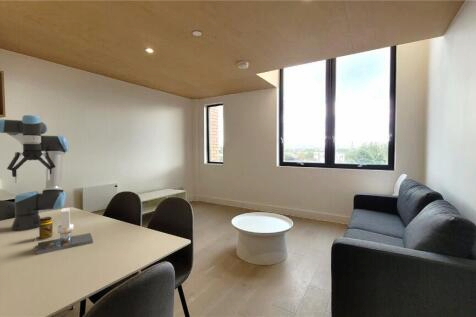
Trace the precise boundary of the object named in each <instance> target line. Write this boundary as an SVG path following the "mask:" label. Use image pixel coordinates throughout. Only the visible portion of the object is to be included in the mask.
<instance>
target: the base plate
mask: <svg viewBox="0 0 476 317" xmlns="http://www.w3.org/2000/svg"><path fill="white" fill-rule="evenodd" d="M59 235H60V236H59V237H60V238H57V239H49V240H45V241H44V240H43V241H40V242H39V241H38V243H37V248H36V251H35V252H36V253H35V254H36V255H40V254H45V253H50V252H55V251H60V250H64V249H65V250H66V249H69V248H74V247H79V246H84V245H89V244H93V243H94V239H93V236H92V234H91V232H90V233H89V232H88V233H84V234H77V235H72V231H71V232H68V233H59Z"/></svg>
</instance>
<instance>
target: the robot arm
mask: <svg viewBox="0 0 476 317" xmlns="http://www.w3.org/2000/svg"><path fill="white" fill-rule="evenodd" d="M48 128H49V127H48V125H47V124H46V123H44V122H42V120H41V117H40V115H39V116H38V115H32V114H30V115H29V114H26V115H23V116H22V120H19V119H18V120H16V119H5V118H4V119H0V134H6V135H9V136H11V137H12V138H13V139H15V140H16V141H18V142H20V144H21V145H22V152H17V151H16V152H14V157H12V158H13V159H11V161H10V163H9V164H8V166H7V168H6V169H7V170H9V171H11V176H12V178H14V183H15V184H20V183H19V182H20V181H19V170H18V169H20V167H21V166H22V165H24V163H26V162H27V161H39V162H40V163H41V164H42V165H43V166H44V167H46V169H45V187H44V188H43V189H42V191H41V192H42V193H41V192H40V193H39V191H29V192H24V193H19V194H17V195H15V197H14V202H13V203H14V216H15V217H14V220H13V222H12V224H11V230H12V231H25V230H26V231H27V230H32V229H36V228H38V227H39V224H40V219H41V218H42V217H41V216H40V213H39V211H50V210H58V209H60V210H61V209H62V208H64V206H65V205H66V201H67V193H66V192H65V191H64V189H63V188H62V174H63V159H64V156H65V155H66V153H67V152H69V144H68V139H67V138H66V136H62V135H44V134H45V133H48ZM22 156H23V158H22V159H21V160H20V161H19V159H20V157H22ZM42 156H44V158H45V159H43V157H42ZM45 160H46V161H45ZM17 161H19V162H18V163H17Z"/></svg>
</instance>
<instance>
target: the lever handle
mask: <svg viewBox="0 0 476 317" xmlns="http://www.w3.org/2000/svg"><path fill="white" fill-rule="evenodd" d="M70 208H71V207H65V208H64V207H62V208H61V209H60V210H61V211H60V217H61V218H60V220H61V221H60V222H61V224H60V225H59V226H57V234H60V233H68V232H71V233H72V232H73V231H74V223H71V211H70Z"/></svg>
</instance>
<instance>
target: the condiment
mask: <svg viewBox="0 0 476 317" xmlns="http://www.w3.org/2000/svg"><path fill="white" fill-rule="evenodd" d="M40 218H41V219H40V224H39V229H38V230H39V232H38V233H39V235H38V236H36V237H35V238H34V240H33V241H34V242H37V241H38V242H39V241H44V240H45V241H46V240H52V239H53V238H54V236H55V233H54V232H53V221H52V217H51V216H44V217H40ZM53 233H54V234H53Z"/></svg>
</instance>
